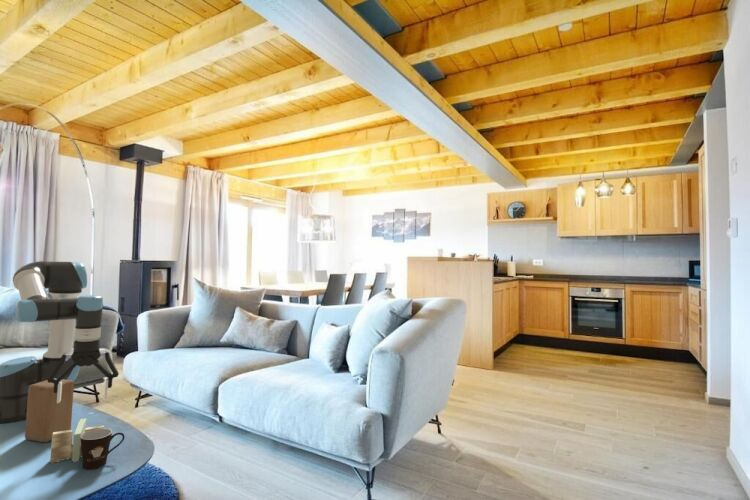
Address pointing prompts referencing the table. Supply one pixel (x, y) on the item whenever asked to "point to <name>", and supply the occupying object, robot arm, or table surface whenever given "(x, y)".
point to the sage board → (78, 439)
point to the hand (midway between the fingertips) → (83, 399)
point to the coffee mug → (96, 447)
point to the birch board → (64, 444)
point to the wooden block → (48, 410)
